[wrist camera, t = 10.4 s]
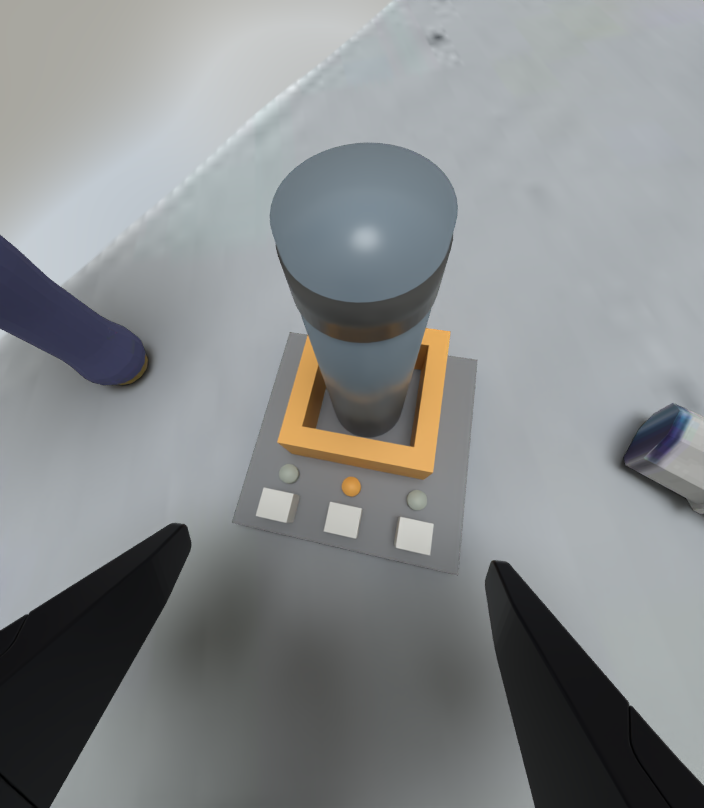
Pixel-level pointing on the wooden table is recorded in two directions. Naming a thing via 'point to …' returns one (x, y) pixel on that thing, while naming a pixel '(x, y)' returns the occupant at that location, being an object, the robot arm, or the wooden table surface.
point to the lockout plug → (365, 269)
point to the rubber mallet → (65, 324)
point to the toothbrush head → (672, 452)
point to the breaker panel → (366, 462)
